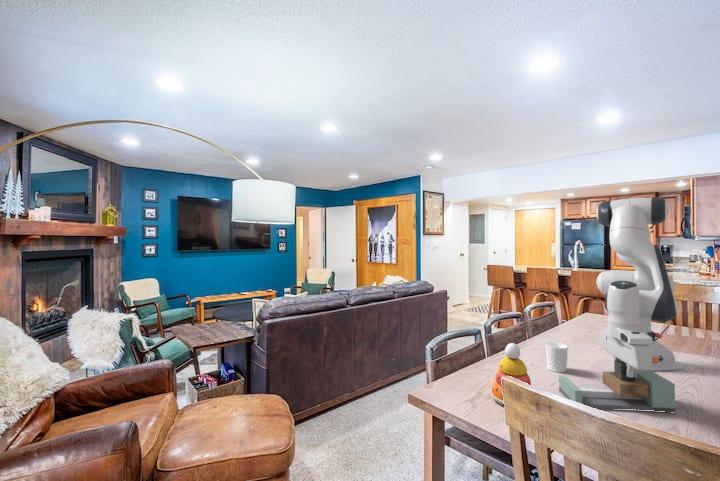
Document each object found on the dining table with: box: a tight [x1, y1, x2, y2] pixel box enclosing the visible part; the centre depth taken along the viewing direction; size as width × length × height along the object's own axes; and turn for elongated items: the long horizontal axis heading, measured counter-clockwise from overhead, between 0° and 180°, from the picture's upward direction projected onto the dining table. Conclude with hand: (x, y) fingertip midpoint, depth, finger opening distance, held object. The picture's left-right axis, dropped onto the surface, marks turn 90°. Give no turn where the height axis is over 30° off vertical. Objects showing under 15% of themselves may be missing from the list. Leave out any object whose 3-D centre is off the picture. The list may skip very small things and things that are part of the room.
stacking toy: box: [489, 342, 532, 406], centre depth 113 cm, size 14×14×20 cm
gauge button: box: [651, 356, 659, 368], centre depth 109 cm, size 4×4×3 cm
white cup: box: [544, 341, 569, 374], centre depth 137 cm, size 8×8×10 cm
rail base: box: [558, 369, 676, 414], centre depth 111 cm, size 28×12×9 cm, turn 81°
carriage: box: [602, 360, 649, 398], centre depth 110 cm, size 8×10×9 cm
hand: (624, 373), depth 110 cm, fingers closed on carriage, 4 cm apart
